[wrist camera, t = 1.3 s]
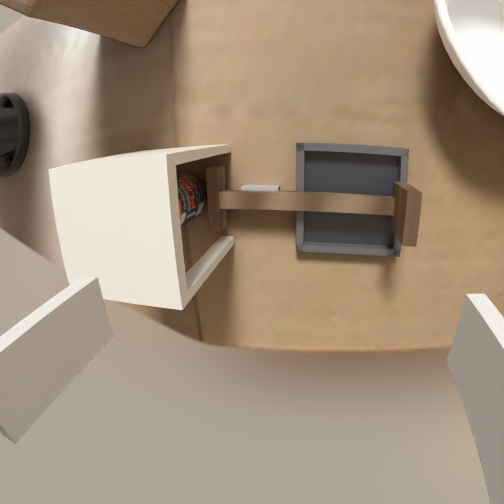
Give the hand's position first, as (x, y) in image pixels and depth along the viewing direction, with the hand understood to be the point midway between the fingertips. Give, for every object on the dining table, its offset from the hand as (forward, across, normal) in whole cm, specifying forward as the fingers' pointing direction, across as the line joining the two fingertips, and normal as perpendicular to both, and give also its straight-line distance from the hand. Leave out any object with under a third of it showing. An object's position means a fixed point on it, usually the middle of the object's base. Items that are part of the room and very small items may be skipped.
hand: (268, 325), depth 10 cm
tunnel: (+27, -12, -1) cm, 29 cm away
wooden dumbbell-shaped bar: (+26, 0, -1) cm, 26 cm away
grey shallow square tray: (+27, +5, -1) cm, 27 cm away
